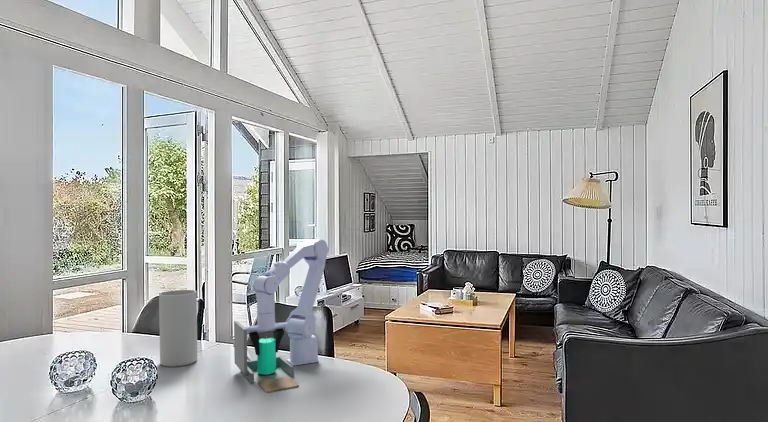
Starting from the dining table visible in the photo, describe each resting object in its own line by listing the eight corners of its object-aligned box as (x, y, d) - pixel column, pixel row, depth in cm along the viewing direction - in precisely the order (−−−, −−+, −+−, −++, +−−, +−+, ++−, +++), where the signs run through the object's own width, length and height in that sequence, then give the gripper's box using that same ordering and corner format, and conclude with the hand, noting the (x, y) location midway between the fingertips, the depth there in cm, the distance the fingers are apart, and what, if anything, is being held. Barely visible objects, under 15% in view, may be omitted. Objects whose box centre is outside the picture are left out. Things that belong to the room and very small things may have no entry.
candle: (279, 369, 174) (279, 333, 173) (270, 375, 168) (270, 338, 168) (263, 367, 176) (263, 332, 175) (254, 373, 170) (253, 337, 169)
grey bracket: (280, 363, 182) (279, 315, 182) (293, 375, 169) (293, 323, 168) (233, 370, 174) (232, 320, 174) (244, 384, 161) (243, 329, 161)
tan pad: (288, 377, 167) (288, 376, 167) (299, 386, 158) (299, 385, 158) (258, 382, 162) (258, 381, 162) (266, 392, 153) (266, 391, 153)
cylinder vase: (167, 369, 177) (166, 296, 177) (155, 362, 186) (154, 292, 186) (203, 362, 185) (201, 292, 185) (189, 355, 195) (188, 288, 194)
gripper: (283, 307, 178) (284, 347, 178) (241, 312, 171) (241, 353, 172) (290, 311, 172) (290, 352, 172) (246, 316, 165) (246, 358, 165)
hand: (266, 353), depth 171 cm, fingers closed on candle, 6 cm apart
